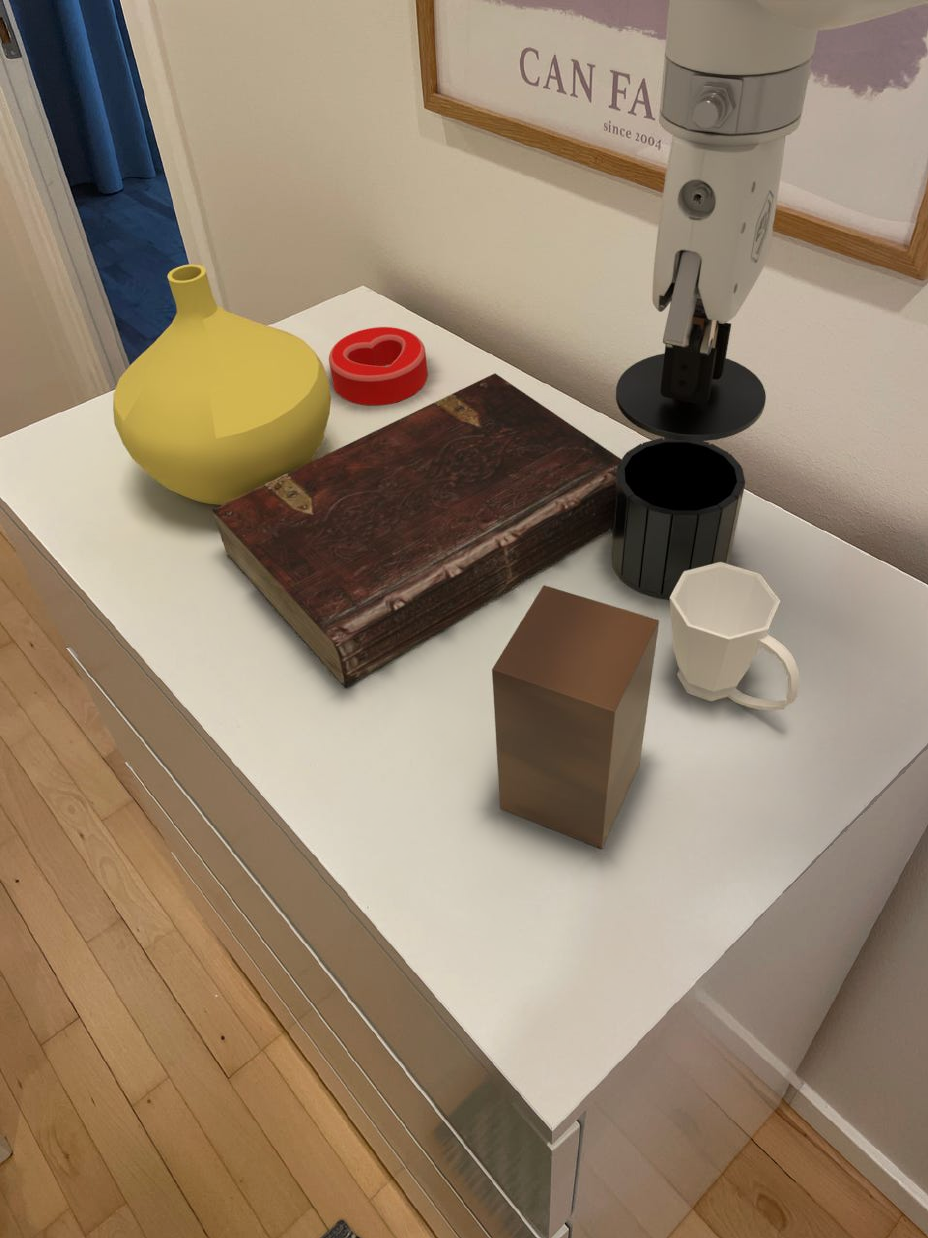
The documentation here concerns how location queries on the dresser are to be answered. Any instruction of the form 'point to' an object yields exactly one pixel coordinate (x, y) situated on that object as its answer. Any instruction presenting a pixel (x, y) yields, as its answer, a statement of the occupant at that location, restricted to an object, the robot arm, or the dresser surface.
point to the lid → (722, 416)
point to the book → (420, 522)
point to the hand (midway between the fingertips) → (691, 383)
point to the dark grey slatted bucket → (673, 512)
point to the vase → (220, 399)
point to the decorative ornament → (378, 366)
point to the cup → (725, 633)
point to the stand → (572, 712)
